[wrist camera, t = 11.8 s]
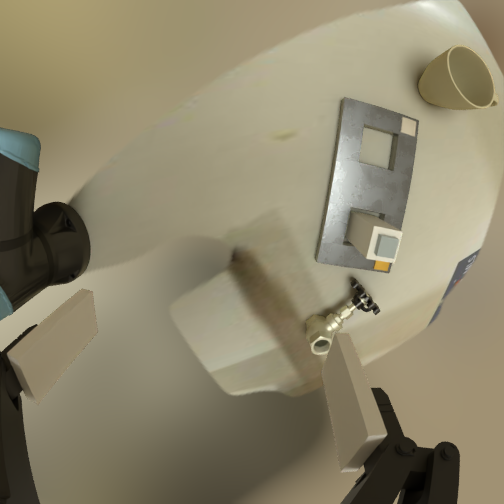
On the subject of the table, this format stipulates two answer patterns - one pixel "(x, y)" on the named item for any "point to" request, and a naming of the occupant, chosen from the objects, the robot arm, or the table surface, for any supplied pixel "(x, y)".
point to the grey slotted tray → (365, 181)
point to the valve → (336, 321)
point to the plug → (373, 237)
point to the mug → (458, 81)
